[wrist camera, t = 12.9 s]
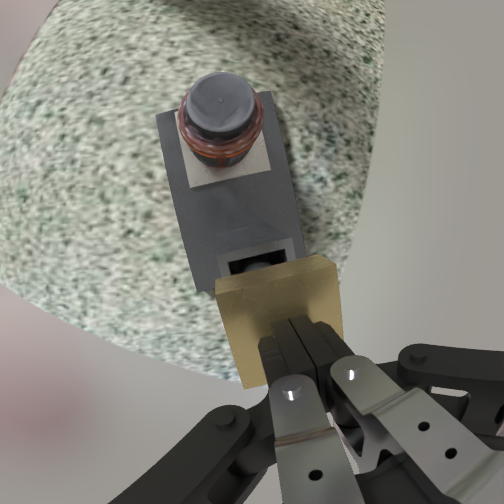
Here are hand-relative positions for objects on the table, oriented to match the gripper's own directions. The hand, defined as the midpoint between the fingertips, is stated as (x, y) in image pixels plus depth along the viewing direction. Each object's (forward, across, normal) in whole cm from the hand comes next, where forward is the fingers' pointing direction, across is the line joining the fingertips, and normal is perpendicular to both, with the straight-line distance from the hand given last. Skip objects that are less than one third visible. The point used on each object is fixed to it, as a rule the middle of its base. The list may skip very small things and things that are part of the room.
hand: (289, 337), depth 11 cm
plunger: (+12, 0, 0) cm, 12 cm away
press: (+19, 0, -6) cm, 20 cm away
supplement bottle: (+17, 0, -12) cm, 20 cm away
